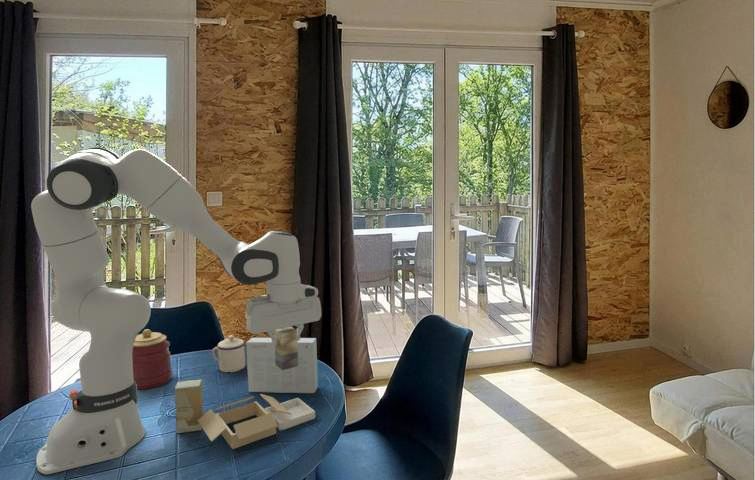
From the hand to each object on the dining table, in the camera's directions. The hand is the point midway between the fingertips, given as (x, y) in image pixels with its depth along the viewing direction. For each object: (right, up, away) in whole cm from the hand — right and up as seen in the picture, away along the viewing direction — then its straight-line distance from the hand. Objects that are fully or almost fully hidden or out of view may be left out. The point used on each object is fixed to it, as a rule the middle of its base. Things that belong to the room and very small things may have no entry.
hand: (286, 342), depth 119 cm
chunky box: (0, -6, +1) cm, 6 cm away
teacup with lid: (-28, -18, +37) cm, 50 cm away
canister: (-50, -19, +27) cm, 60 cm away
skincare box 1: (-25, -22, -2) cm, 33 cm away
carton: (-10, -22, -4) cm, 24 cm away
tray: (0, -21, +2) cm, 21 cm away
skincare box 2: (-5, -19, +20) cm, 28 cm away
